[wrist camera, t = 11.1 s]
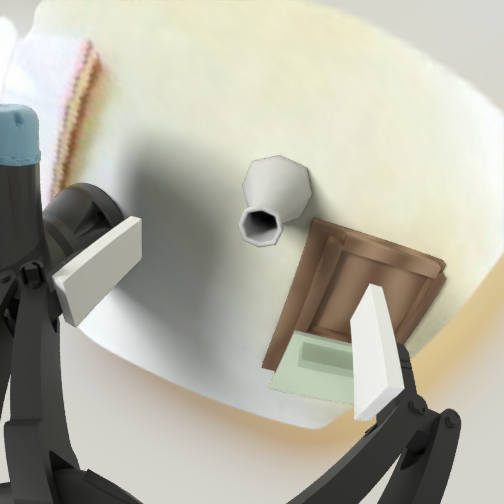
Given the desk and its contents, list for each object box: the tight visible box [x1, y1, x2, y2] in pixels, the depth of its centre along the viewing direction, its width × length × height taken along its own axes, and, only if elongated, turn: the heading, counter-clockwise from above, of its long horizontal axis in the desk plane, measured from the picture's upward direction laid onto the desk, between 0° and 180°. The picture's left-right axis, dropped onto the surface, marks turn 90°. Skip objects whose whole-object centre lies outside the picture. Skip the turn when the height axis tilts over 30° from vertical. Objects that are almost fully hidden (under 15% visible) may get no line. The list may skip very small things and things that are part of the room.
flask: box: [238, 155, 312, 247], centre depth 24 cm, size 7×7×10 cm
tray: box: [262, 218, 446, 374], centre depth 34 cm, size 17×25×2 cm
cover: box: [269, 330, 354, 405], centre depth 35 cm, size 15×14×4 cm
